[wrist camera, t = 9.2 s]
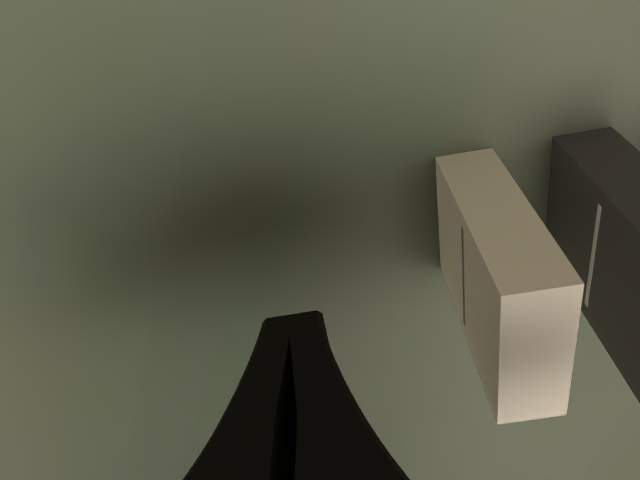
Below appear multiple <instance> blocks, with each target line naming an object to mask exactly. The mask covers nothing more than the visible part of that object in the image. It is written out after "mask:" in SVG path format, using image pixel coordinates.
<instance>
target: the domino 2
mask: <svg viewBox="0 0 640 480" xmlns="http://www.w3.org/2000/svg"><path fill="white" fill-rule="evenodd" d="M546 228H547V229H548V231H549V232H550V234H551V235H552V237H553V238H554V240H555V241H556V243H557V244H558V245H559V247H560V248H561V250H562V251H563V253H564V254H565V256H566V257H567V259H568V260H569V262H570V263H571V265H572V266H573V268H574V269H575V271H576V272H577V274H578V275H579V277H580V278H581V279H582V281H583V282H584V290H583V297H582V304H581V311H582V312H583V314H584V316H585V317H586V319H587V320H588V322H589V323H590V325H591V327H592V328H593V330H594V331H595V333H596V335H597V336H598V338H599V339H600V341H601V342H602V344H603V346H604V347H605V349H606V350H607V352H608V354H609V355H610V357H611V358H612V360H613V361H614V363H615V365H616V366H617V368H618V369H619V371H620V373H621V374H622V376H623V377H624V379H625V380H626V382H627V384H628V385H629V387H630V388H631V390H632V392H633V393H634V395H635V396H636V398H637V399H638V401H639V403H640V152H639V151H638V150H637V149H636V148H635V147H634V146H633V145H631V144H630V143H629V142H628V141H627V140H626V139H625V138H623V137H622V136H621V135H620V134H619V133H618V132H617V131H615V130H614V129H613V128H612V127H609V128H603V129H597V130H591V131H585V132H579V133H573V134H567V135H561V136H556V137H553V143H552V156H551V169H550V181H549V194H548V207H547V220H546Z"/></svg>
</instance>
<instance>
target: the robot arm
mask: <svg viewBox="0 0 640 480" xmlns="http://www.w3.org/2000/svg"><path fill="white" fill-rule="evenodd" d="M183 480H410V479H409V478H408V477H407V475H406V474H405V473H404V472H403V470H402V469H401V468H400V466H399V465H398V464H397V463H396V461H395V460H394V459H393V457H392V456H391V455H390V453H389V452H388V451H387V449H386V448H385V446H384V445H383V443H382V442H381V441H380V439H379V438H378V436H377V435H376V433H375V432H374V430H373V429H372V427H371V426H370V424H369V423H368V421H367V419H366V418H365V416H364V414H363V413H362V411H361V409H360V408H359V406H358V404H357V402H356V401H355V399H354V397H353V395H352V393H351V392H350V390H349V388H348V386H347V384H346V382H345V380H344V378H343V376H342V374H341V372H340V369H339V367H338V365H337V363H336V361H335V358H334V356H333V353H332V351H331V348H330V345H329V341H328V337H327V332H326V328H325V323H324V318H323V314H322V313H321V312H319V311H310V312H304V313H297V314H291V315H285V316H278V317H272V318H266V319H265V321H264V322H263V324H262V327H261V330H260V333H259V336H258V339H257V342H256V344H255V347H254V350H253V352H252V355H251V357H250V360H249V362H248V365H247V367H246V369H245V371H244V374H243V376H242V378H241V380H240V382H239V385H238V387H237V389H236V391H235V393H234V395H233V397H232V399H231V401H230V403H229V405H228V407H227V409H226V411H225V412H224V414H223V416H222V418H221V420H220V422H219V424H218V426H217V427H216V429H215V431H214V433H213V434H212V436H211V438H210V439H209V441H208V443H207V444H206V446H205V447H204V449H203V451H202V452H201V454H200V455H199V457H198V458H197V460H196V461H195V463H194V464H193V466H192V467H191V469H190V470H189V472H188V473H187V474H186V476H185V477H184V479H183Z"/></svg>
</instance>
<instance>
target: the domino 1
mask: <svg viewBox="0 0 640 480" xmlns="http://www.w3.org/2000/svg"><path fill="white" fill-rule="evenodd" d="M435 163H436V183H437V203H438V224H439V244H440V264H441V270H442V273H443V276H444V279H445V281H446V284H447V287H448V290H449V292H450V295H451V298H452V301H453V304H454V306H455V309H456V312H457V315H458V317H459V320H460V323H461V326H462V328H463V331H464V334H465V337H466V339H467V342H468V345H469V348H470V350H471V353H472V356H473V359H474V362H475V364H476V367H477V370H478V373H479V375H480V378H481V381H482V384H483V386H484V389H485V392H486V395H487V397H488V400H489V403H490V406H491V408H492V411H493V414H494V417H495V420H496V422H497V424H504V423H512V422H519V421H526V420H533V419H540V418H547V417H554V416H562V415H566V413H567V406H568V399H569V391H570V384H571V377H572V370H573V362H574V355H575V348H576V341H577V333H578V326H579V319H580V312H581V304H582V297H583V290H584V282H583V281H582V279H581V278H580V277H579V275H578V274H577V272H576V271H575V269H574V268H573V266H572V265H571V263H570V262H569V260H568V259H567V257H566V256H565V254H564V253H563V251H562V250H561V248H560V247H559V245H558V244H557V243H556V241H555V240H554V238H553V237H552V235H551V234H550V232H549V231H548V229H547V228H546V226H545V225H544V223H543V222H542V220H541V219H540V217H539V216H538V214H537V213H536V212H535V210H534V209H533V207H532V206H531V204H530V203H529V201H528V200H527V198H526V197H525V195H524V194H523V192H522V191H521V189H520V188H519V186H518V185H517V183H516V182H515V180H514V179H513V178H512V176H511V175H510V173H509V172H508V170H507V169H506V167H505V166H504V164H503V163H502V161H501V160H500V158H499V157H498V155H497V154H496V152H495V151H494V149H493V148H488V149H482V150H476V151H470V152H463V153H457V154H451V155H445V156H439V157H435Z"/></svg>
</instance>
